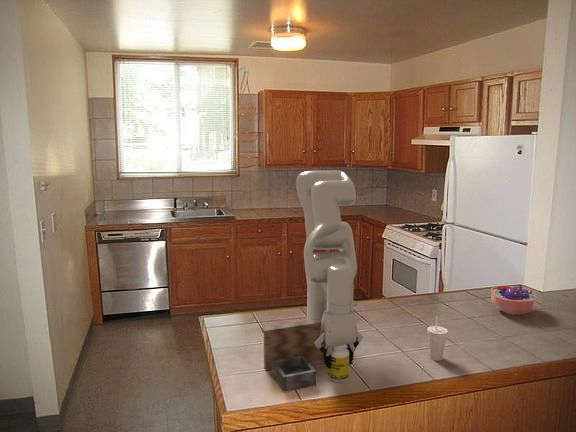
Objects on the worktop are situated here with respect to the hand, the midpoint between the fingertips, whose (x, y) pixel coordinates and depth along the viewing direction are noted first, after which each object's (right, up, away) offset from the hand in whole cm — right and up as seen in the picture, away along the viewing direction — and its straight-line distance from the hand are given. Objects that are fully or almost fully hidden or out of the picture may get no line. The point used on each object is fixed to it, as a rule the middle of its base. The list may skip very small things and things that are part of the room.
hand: (338, 364), depth 138 cm
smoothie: (+33, -2, +13) cm, 35 cm away
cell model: (+76, +5, +51) cm, 92 cm away
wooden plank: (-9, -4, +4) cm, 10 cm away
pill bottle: (0, -4, +1) cm, 4 cm away
